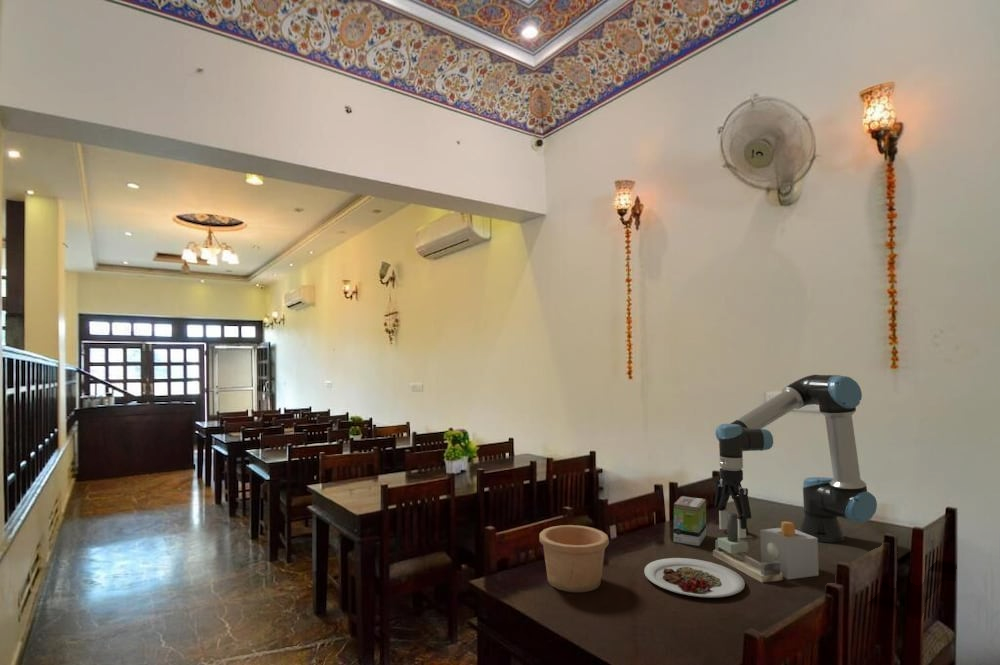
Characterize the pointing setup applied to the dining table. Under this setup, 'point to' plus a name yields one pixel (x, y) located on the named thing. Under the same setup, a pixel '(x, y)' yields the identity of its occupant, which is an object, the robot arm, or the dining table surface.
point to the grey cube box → (790, 552)
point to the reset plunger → (787, 528)
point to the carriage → (732, 537)
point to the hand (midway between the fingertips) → (732, 533)
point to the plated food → (694, 577)
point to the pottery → (574, 557)
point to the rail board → (750, 565)
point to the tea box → (689, 520)
